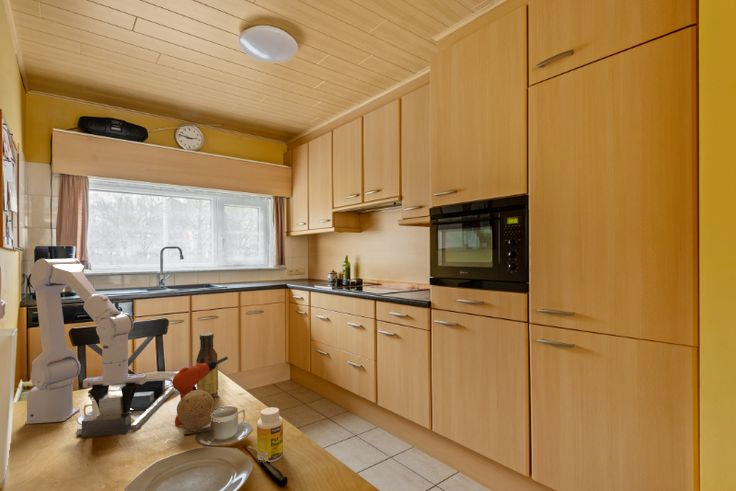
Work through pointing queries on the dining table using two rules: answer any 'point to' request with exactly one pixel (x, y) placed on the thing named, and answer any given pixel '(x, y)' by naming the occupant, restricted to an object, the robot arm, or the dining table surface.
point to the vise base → (118, 420)
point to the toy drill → (192, 379)
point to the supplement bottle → (270, 435)
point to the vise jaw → (147, 393)
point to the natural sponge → (195, 410)
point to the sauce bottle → (204, 356)
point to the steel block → (111, 403)
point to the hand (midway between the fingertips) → (115, 412)
